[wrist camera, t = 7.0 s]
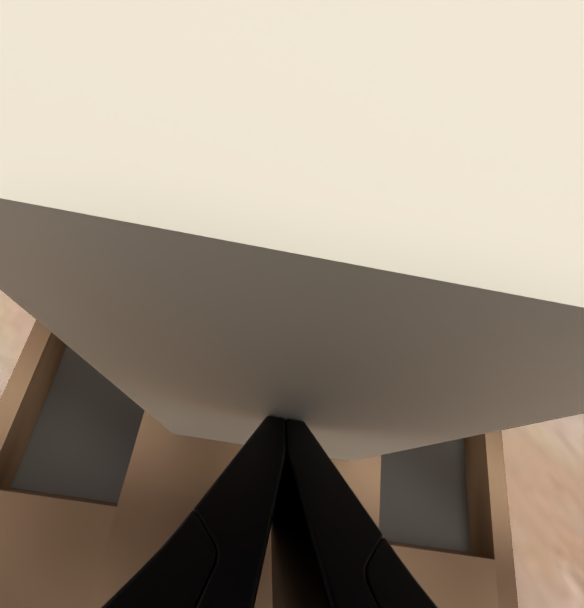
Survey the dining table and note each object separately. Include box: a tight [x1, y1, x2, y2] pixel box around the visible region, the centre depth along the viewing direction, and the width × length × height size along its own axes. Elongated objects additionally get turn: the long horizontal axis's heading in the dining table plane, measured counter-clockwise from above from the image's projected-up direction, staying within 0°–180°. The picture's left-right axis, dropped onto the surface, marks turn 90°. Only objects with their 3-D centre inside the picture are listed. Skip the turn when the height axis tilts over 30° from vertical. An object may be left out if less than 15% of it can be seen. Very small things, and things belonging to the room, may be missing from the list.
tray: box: [0, 320, 518, 608], centre depth 14 cm, size 27×20×4 cm
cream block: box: [0, 0, 584, 461], centre depth 11 cm, size 7×7×14 cm
